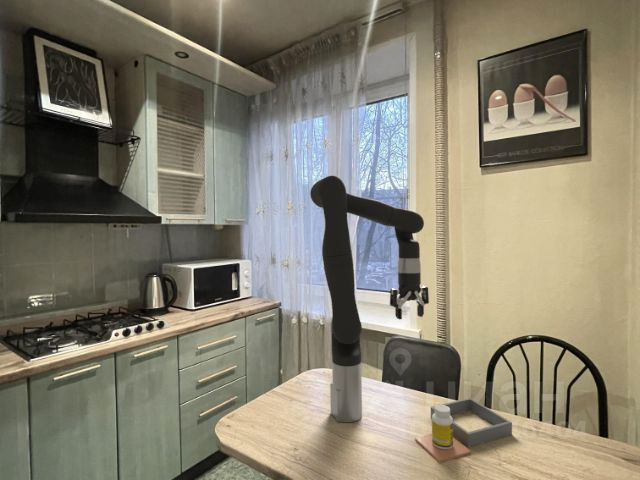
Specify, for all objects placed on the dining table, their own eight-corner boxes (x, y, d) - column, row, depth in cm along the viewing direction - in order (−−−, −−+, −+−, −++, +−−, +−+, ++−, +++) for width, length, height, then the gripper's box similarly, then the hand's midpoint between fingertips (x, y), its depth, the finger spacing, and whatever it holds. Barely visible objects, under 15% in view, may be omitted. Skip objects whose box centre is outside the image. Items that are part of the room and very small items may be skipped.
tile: (439, 462, 86) (439, 460, 86) (415, 440, 95) (415, 438, 95) (471, 453, 89) (471, 451, 89) (444, 432, 99) (444, 430, 99)
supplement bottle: (454, 451, 89) (454, 414, 89) (432, 448, 90) (432, 412, 90) (452, 439, 94) (451, 404, 94) (431, 436, 96) (430, 402, 96)
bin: (468, 447, 92) (468, 434, 92) (430, 417, 106) (430, 406, 106) (511, 434, 97) (511, 422, 97) (470, 408, 112) (470, 397, 112)
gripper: (419, 268, 124) (420, 313, 125) (385, 270, 120) (386, 317, 120) (433, 270, 117) (433, 318, 118) (397, 273, 113) (398, 322, 113)
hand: (409, 317), depth 119 cm, fingers open, 8 cm apart
